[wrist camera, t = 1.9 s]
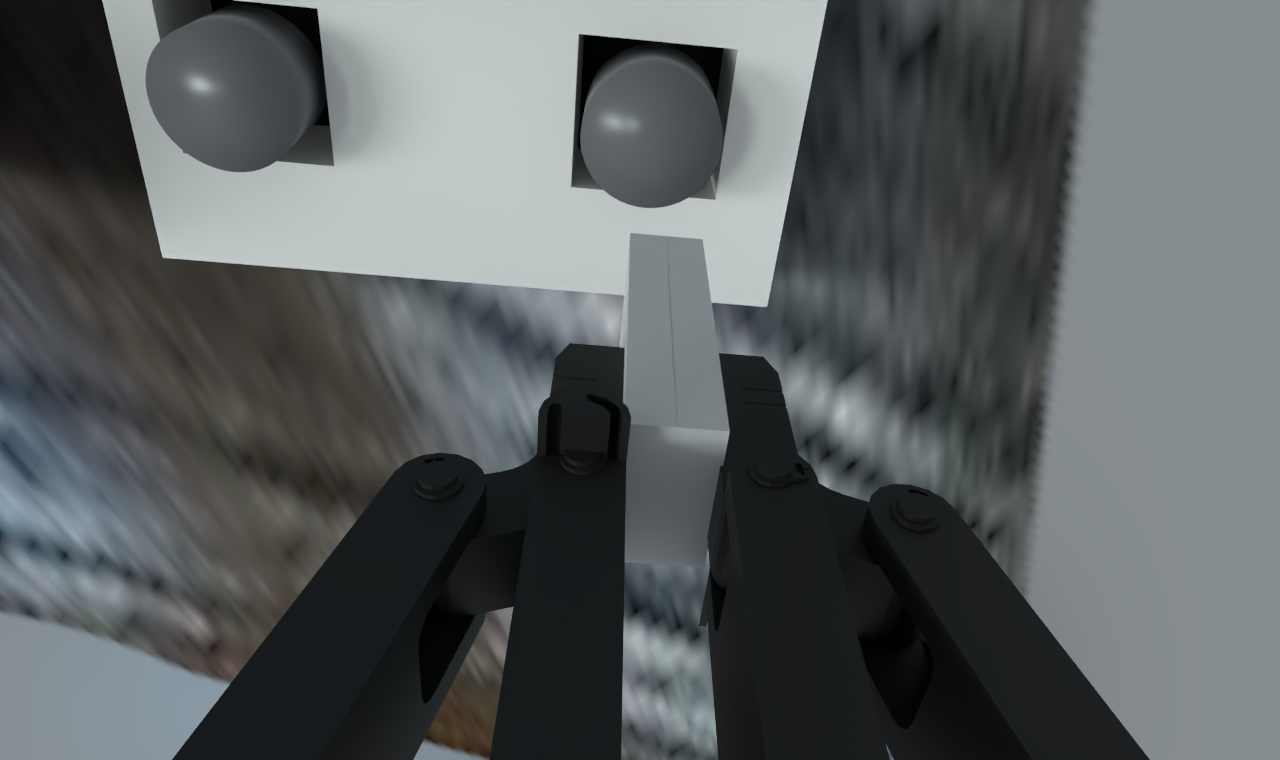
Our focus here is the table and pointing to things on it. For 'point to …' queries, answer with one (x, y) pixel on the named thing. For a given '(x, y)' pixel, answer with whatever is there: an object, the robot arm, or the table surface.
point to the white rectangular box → (483, 144)
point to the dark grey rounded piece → (236, 87)
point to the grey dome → (651, 127)
